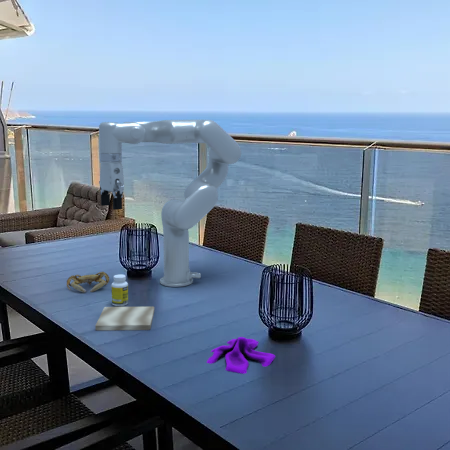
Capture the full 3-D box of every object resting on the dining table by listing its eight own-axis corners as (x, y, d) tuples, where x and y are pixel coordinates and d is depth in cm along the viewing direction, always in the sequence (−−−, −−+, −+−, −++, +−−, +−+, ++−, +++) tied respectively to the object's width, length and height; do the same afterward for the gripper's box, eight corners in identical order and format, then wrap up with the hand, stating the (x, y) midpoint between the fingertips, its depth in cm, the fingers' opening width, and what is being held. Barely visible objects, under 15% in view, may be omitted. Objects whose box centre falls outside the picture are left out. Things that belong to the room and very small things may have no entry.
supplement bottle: (124, 307, 178) (123, 278, 176) (109, 306, 179) (108, 277, 177) (130, 302, 183) (130, 274, 181) (115, 300, 184) (114, 273, 182)
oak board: (154, 310, 175) (154, 306, 174) (150, 329, 159) (150, 325, 159) (104, 311, 174) (104, 306, 173) (95, 330, 158) (95, 325, 158)
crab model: (67, 296, 189) (66, 281, 188) (66, 285, 201) (65, 271, 200) (111, 292, 194) (111, 277, 193) (108, 281, 206) (108, 267, 205)
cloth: (246, 337, 156) (247, 317, 154) (291, 360, 141) (291, 338, 140) (181, 357, 143) (180, 335, 141) (222, 384, 128) (222, 360, 127)
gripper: (132, 159, 181) (132, 210, 185) (109, 156, 195) (110, 203, 198) (111, 160, 177) (112, 211, 180) (90, 157, 190) (91, 204, 194)
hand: (111, 207), depth 189 cm, fingers open, 9 cm apart
